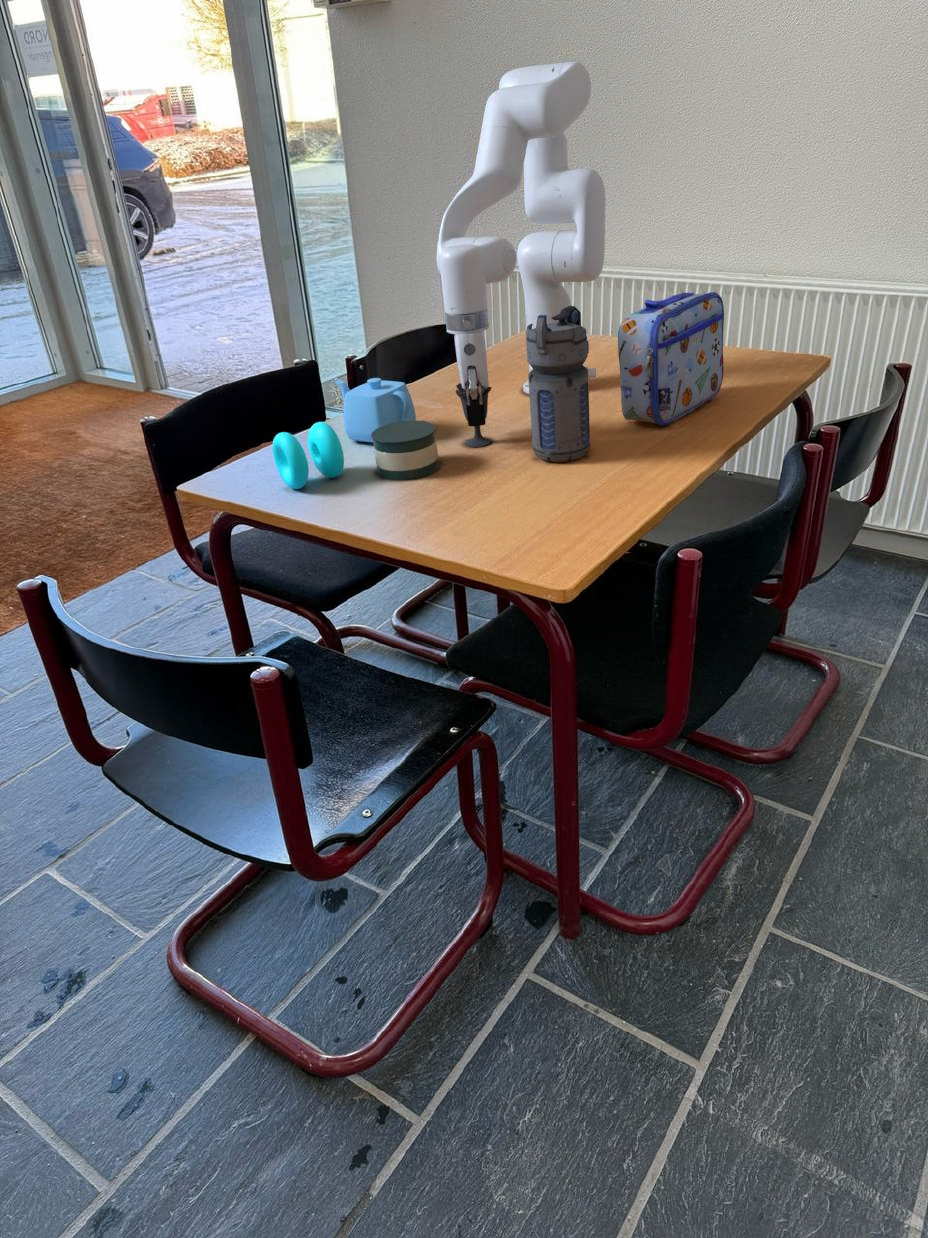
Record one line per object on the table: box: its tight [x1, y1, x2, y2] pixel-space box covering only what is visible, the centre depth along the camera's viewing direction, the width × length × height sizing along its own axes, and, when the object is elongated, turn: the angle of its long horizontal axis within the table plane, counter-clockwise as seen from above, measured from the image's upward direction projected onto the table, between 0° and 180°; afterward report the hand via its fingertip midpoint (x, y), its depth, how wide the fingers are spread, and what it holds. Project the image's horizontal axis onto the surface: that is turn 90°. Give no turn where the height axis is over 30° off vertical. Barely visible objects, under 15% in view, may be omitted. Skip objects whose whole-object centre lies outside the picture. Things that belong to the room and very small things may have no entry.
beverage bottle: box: [525, 305, 591, 463], centre depth 156 cm, size 10×13×25 cm
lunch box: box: [617, 291, 725, 427], centre depth 170 cm, size 28×10×22 cm, turn 140°
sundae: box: [455, 373, 493, 448], centre depth 167 cm, size 7×7×15 cm
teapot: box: [333, 377, 417, 443], centre depth 178 cm, size 12×18×12 cm
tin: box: [371, 419, 440, 481], centre depth 161 cm, size 11×11×7 cm
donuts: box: [272, 421, 345, 490], centre depth 159 cm, size 10×10×10 cm
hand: (476, 418), depth 169 cm, fingers open, 6 cm apart
